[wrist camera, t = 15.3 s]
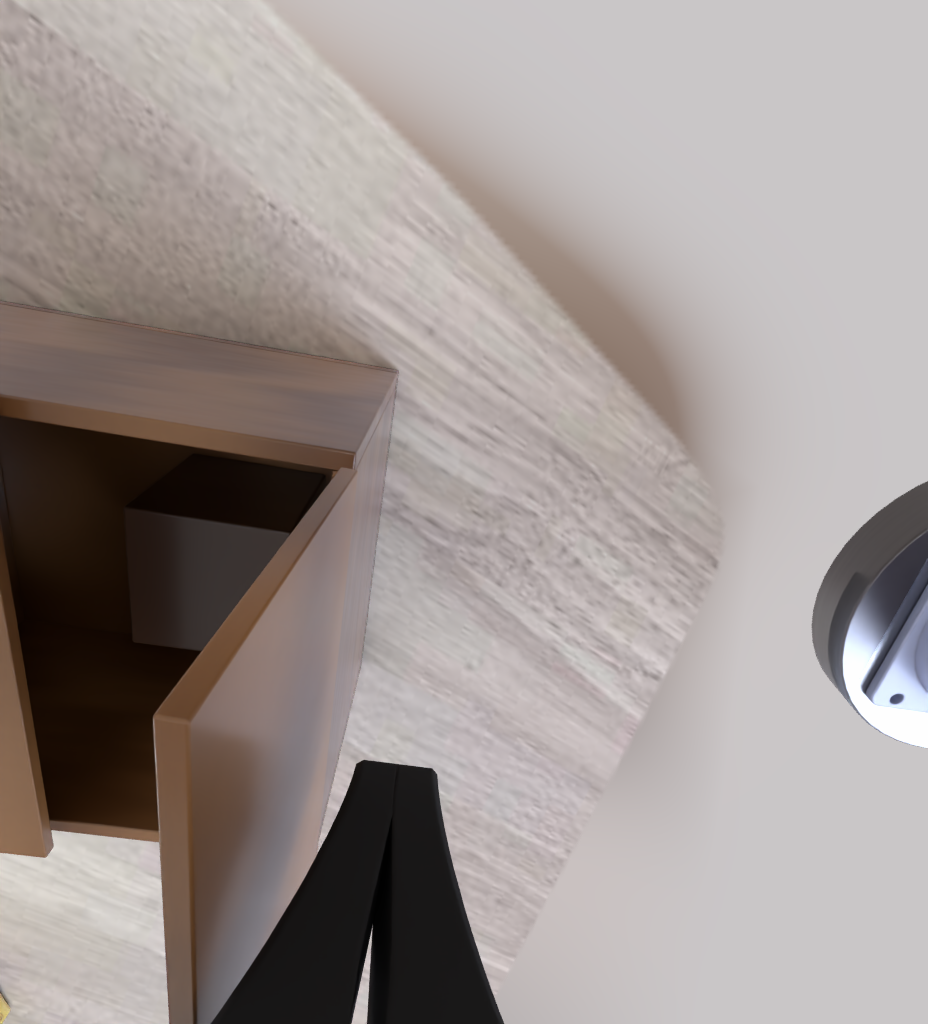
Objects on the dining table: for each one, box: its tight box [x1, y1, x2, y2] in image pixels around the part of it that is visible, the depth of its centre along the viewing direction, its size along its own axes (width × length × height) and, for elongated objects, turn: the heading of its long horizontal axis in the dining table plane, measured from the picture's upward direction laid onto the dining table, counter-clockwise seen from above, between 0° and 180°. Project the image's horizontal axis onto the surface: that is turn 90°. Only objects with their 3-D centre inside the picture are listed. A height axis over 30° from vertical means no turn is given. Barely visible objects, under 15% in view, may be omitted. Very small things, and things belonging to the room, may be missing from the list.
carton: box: [0, 301, 399, 858], centre depth 15 cm, size 12×11×8 cm
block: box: [123, 454, 326, 651], centre depth 17 cm, size 4×4×4 cm
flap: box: [153, 467, 358, 1024], centre depth 9 cm, size 6×11×1 cm
